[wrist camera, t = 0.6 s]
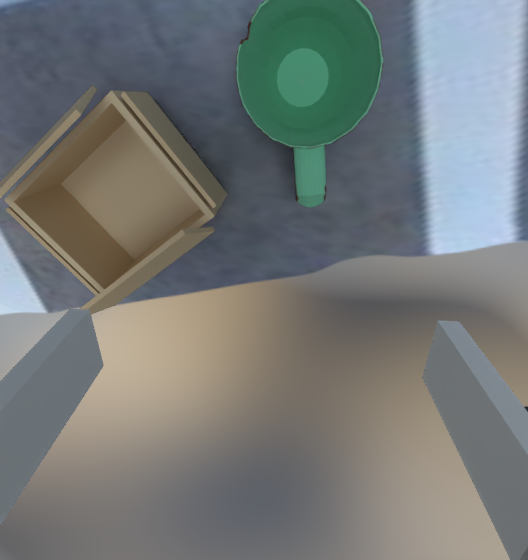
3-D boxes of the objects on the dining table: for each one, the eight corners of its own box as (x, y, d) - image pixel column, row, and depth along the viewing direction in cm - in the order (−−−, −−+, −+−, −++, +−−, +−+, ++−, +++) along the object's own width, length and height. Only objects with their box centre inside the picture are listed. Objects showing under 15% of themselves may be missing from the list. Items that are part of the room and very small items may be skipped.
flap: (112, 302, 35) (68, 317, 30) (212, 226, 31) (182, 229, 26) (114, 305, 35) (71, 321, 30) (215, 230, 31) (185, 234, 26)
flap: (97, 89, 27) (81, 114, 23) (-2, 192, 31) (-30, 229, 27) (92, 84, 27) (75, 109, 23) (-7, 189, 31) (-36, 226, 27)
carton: (51, 185, 39) (-1, 205, 32) (152, 86, 34) (117, 84, 27) (132, 268, 43) (101, 302, 36) (233, 190, 38) (220, 211, 31)
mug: (242, 20, 32) (225, -10, 23) (357, 5, 31) (387, -33, 22) (260, 190, 38) (252, 218, 29) (356, 181, 37) (378, 208, 28)
